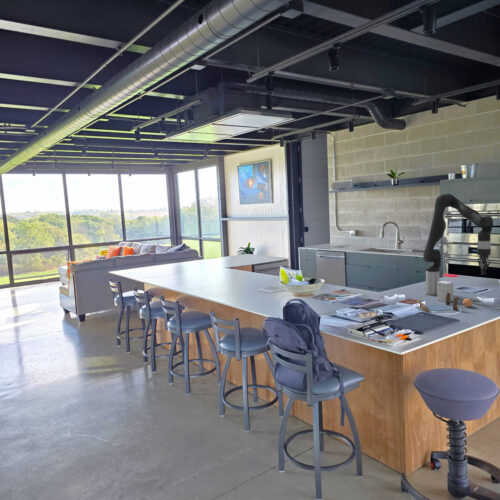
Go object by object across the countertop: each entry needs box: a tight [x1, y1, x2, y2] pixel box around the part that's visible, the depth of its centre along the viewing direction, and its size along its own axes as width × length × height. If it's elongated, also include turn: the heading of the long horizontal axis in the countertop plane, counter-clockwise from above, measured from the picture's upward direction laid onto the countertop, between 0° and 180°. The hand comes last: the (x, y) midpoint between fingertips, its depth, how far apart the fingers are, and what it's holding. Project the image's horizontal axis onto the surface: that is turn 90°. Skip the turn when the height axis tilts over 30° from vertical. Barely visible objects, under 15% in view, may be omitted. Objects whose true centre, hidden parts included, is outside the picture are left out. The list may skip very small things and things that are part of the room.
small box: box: [436, 280, 454, 303], centre depth 296 cm, size 8×6×13 cm
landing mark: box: [424, 304, 452, 312], centre depth 281 cm, size 13×13×1 cm
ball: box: [462, 298, 473, 308], centre depth 279 cm, size 6×6×6 cm
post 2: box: [452, 296, 459, 311], centre depth 273 cm, size 3×3×8 cm
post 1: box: [445, 293, 451, 306], centre depth 286 cm, size 3×3×8 cm
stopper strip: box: [415, 300, 430, 313], centre depth 282 cm, size 20×2×2 cm, turn 175°
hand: (483, 274), depth 276 cm, fingers closed
